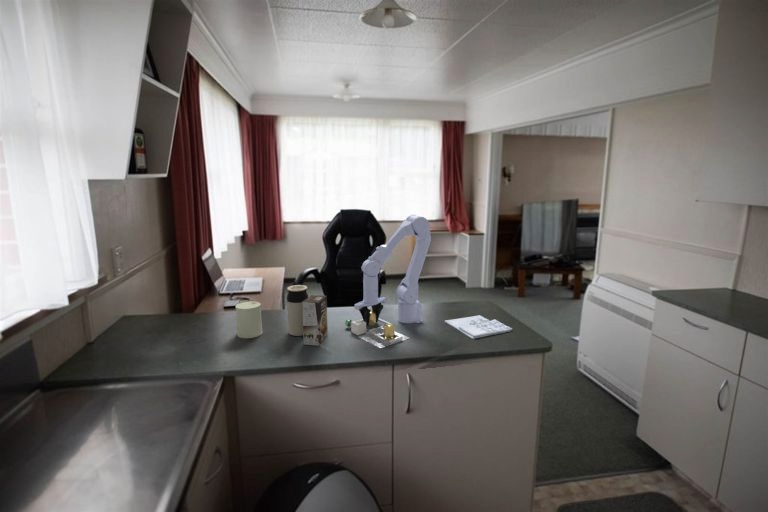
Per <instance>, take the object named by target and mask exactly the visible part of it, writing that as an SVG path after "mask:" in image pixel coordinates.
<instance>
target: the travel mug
mask: <svg viewBox="0 0 768 512" xmlns="http://www.w3.org/2000/svg"><path fill="white" fill-rule="evenodd" d="M286 289H287V292H288V294H287V296H286V305H287V306H286V307H287V325H288V327H287V328H288V334H289V335H291V336H295V337H302V336H303V309H302V302H303V301H304V300H305V299H307V298H308V297H309V294H308V292H307V290H308V286H307V285H303V284H295V285H290V286H287V288H286Z"/></svg>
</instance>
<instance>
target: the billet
mask: <svg viewBox="0 0 768 512" xmlns="http://www.w3.org/2000/svg"><path fill="white" fill-rule="evenodd" d="M376 325H377V323H376V312H375V311H372V310H371V311H370V315H369V325H367V326H369V327H371V326H372V327H374V326H376Z"/></svg>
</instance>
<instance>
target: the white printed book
mask: <svg viewBox="0 0 768 512" xmlns="http://www.w3.org/2000/svg"><path fill="white" fill-rule="evenodd" d="M444 323H445V324H448V325H449V326H450V327H453V328H454V329H456V330H458V331H459V332H461V333H462V334H464V335H465V336H467V337H469V338H471V339H473V340H474V339H478V338H485V337H488V336H492V335H497V334H504V333H507V332H511V331H512V330H513V328H512V327H510V326H507V325H505V323H502V322H500V321H499V320H497V319H495V318H494V319H491V320H490V319H488V318H486V317H484V316H482V315H480V314H479V315H473V316H467V317H466V316H465V317H460V318H455V319H454V318H453V319H447V320H446V319H445V320H444Z"/></svg>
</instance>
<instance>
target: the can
mask: <svg viewBox="0 0 768 512" xmlns="http://www.w3.org/2000/svg"><path fill="white" fill-rule="evenodd" d="M261 305H262V303H261V302H259V301H252V300H251V301H245V302H244V301H242V302H240V303H237V304H236V305H235V311H236V312H235V313H236V314H235V316H236V328H237V337H238V338H240V339H253V338H257V337H260V336H261V335H262V334H263V332H264V331H263V325H262V323H263V322H262V308H261Z"/></svg>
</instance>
